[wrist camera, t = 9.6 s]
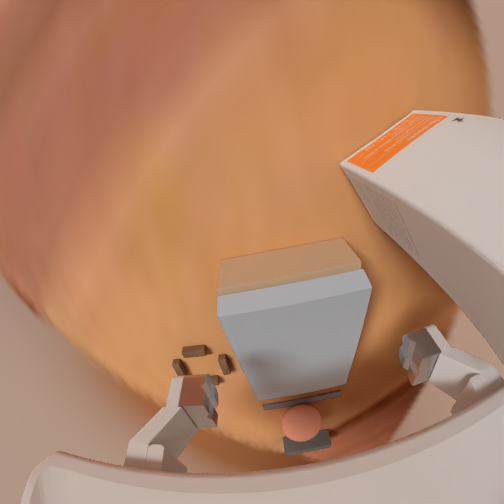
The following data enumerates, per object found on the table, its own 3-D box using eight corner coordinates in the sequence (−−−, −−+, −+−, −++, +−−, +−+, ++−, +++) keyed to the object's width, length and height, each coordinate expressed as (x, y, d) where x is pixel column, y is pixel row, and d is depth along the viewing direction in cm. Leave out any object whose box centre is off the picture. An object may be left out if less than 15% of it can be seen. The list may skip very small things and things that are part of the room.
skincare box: (412, 107, 12) (610, 144, 1) (441, 168, 14) (603, 256, 3) (332, 163, 14) (527, 294, 3) (371, 224, 15) (512, 383, 4)
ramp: (220, 260, 16) (214, 307, 12) (342, 237, 15) (372, 276, 11) (257, 388, 21) (260, 433, 17) (341, 372, 21) (355, 414, 17)
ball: (280, 428, 19) (276, 400, 22) (285, 452, 20) (282, 425, 23) (324, 419, 19) (316, 392, 22) (325, 443, 20) (318, 417, 23)
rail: (283, 437, 26) (284, 452, 24) (327, 429, 25) (331, 443, 23) (283, 440, 26) (285, 455, 24) (327, 432, 26) (330, 446, 24)
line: (262, 404, 22) (262, 406, 22) (340, 390, 22) (340, 391, 22) (264, 409, 22) (264, 410, 22) (340, 394, 22) (340, 395, 22)
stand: (167, 348, 19) (166, 354, 18) (221, 342, 18) (220, 348, 18) (186, 382, 20) (185, 387, 20) (234, 377, 20) (234, 383, 20)
